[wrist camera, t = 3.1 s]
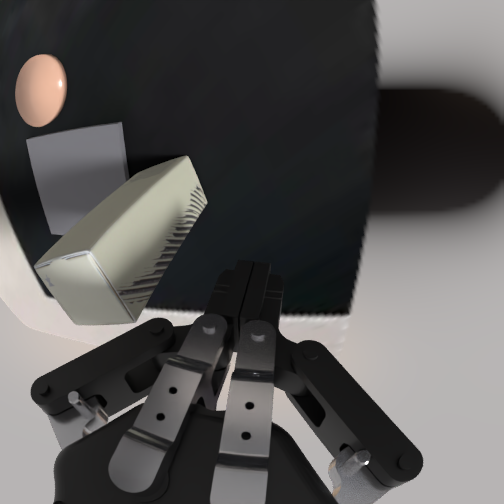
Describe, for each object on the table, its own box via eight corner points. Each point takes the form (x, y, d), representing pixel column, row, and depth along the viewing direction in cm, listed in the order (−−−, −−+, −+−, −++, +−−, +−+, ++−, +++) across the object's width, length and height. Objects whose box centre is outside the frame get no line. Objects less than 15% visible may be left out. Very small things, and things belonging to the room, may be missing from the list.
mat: (30, 137, 22) (26, 139, 21) (121, 122, 20) (117, 123, 20) (54, 230, 28) (51, 233, 27) (141, 239, 26) (138, 243, 26)
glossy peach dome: (18, 65, 17) (12, 67, 16) (64, 44, 16) (58, 45, 15) (25, 129, 21) (20, 131, 20) (71, 118, 20) (65, 120, 20)
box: (157, 216, 25) (72, 328, 14) (136, 170, 22) (28, 267, 12) (212, 202, 23) (138, 328, 13) (191, 150, 21) (85, 250, 10)
